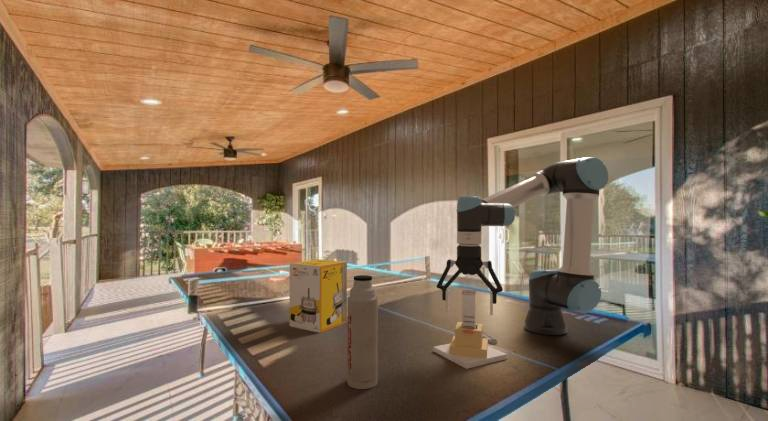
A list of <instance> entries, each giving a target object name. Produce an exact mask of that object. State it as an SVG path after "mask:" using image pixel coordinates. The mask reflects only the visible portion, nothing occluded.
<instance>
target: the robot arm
mask: <svg viewBox="0 0 768 421" xmlns="http://www.w3.org/2000/svg"><path fill="white" fill-rule="evenodd" d="M608 182H609V172H608V168H607V166H606V164H605V163H604V162H603V161H602V160H600V159H599V158H598V157H594V156H586V157H584V156H583V157H582V156H581V157H579V158H574V159H568V160H563V161H562V160H561V161H557V162H555V163H552V164H550V165H548V166H546V167H544V168H542V169H539V170H538V171H536V172H534V173H532V174H531V175H530V177H529V178H526V179H525V180H522V181H520V182H517V183H515V184H513V185H511V186H509V187H507V188H504V189H503V190H500V191H498V192H495V193H493V194H491V195H489V196H487V197H485V198H482V197H481V196H477V195H474V196H473V195H469V196H468V195H466V196H465V195H464V196H460V197H458V198H457V201H456V202H457V203H456V226H457V227H456V230H457V231H456V244H458V245H457V247H456V260H454V259H450V258H449V259H447V260H446V266H445V269H444V270H443V272H442V274H441V276H440V278H439V281H438V282H437V285H436V288H437V289H440V290H441V292H442V293H441V295H442V296H441V298H442V301H445V312H446V313H447V312H449V311H450V289H448V288H449V287H450V285H452V283H453V282H455V281H456V279H457V278H458V277H459V276H460V275H461V274H463V275H465V276H466V275H470V276H474V275H477V276H478V277H479V278H480V280H482V282H483V283H484V285H485V286H486V287H487V288H488V289H489V290H490V293H489V294H490V295H489V316H493V315H494V313H493V312H494V310H493V309H494V306H493V305H496V304H497V298H498V297H497V295H498V293H502V292H503V286H502V284H501V282H500V279H499V278H498V277H497V274H496V273H495V270H494V269H493V265H492V260H488V261H483V260H482V246H481V244H482V227H508V226H511V225H512V224H513V223H514V222H515V218H516V211H515V209H514V208H515V207H518V206H519V205H522V204H524V203H526V202H528V201H530V200H532V199H535V198H537V197H539V196H540V197H544V196H548V195H549V194H554V193H562V196H563V197H564V198H565V199H566V206H565V207H566V208H565V222H564V223H565V224H564V237H563V238H564V239H563V254H562V266H561V267H559V269H536V270H535V269H534V270H530V272H529V278H528V302H529V303H528V304H529V305H528V307H529V308H528V311H527V314H526V318H525V320H524V329H525V330H527V331H528V332H530V333H531V332H532V333H535V334H540V335H547V336H561V335H562V336H563V335H565V334H567V333H568V325H567V323H566V320H565V315H564V313H563V308H564V309H566V310H568V311H571V312H576V313H581V314H587V313H590V312H592V311H593V310H595V308H597V307H598V305H599V303H600V300H601V297H602V290H601V287H600V284H599V283H598V282H596V280H595V273H594V272H593V271H592V270H591V267H590V266H591V265H590V263H591V249H592V236H593V218H594V203H595V202H594V201H595V200H596V199H598V198H599V197H600V190H602V189H604V188H605V187H606V186H607V184H608ZM454 265H455V266H456V267H457V271H455V273H454V274H452V276H451V277H450V278H449V280H448V281H447V282H445V284H443V283H444V281H445V280H446V278H447V275H448V274H449V272H450V269H451V268H452V267H454ZM483 266H484V268H486V269H487V270H488V273H489V274H490V276H491V279H492V280H493V283H494V284H495V286H494V284H492V282H491V281H490V280H489V279H488V278H487V276H486V275H485V274H484V273H483V271H482V270H481V268H482V267H483Z"/></svg>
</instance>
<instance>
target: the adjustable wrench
mask: <svg viewBox="0 0 768 421" xmlns="http://www.w3.org/2000/svg"><path fill="white" fill-rule="evenodd" d="M483 338H487V339H488V344H490V343H491V345H497V344H498V339H496V338H494V337H493V336H491V335H490V334H488V333H487V332H485V331H483Z"/></svg>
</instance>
